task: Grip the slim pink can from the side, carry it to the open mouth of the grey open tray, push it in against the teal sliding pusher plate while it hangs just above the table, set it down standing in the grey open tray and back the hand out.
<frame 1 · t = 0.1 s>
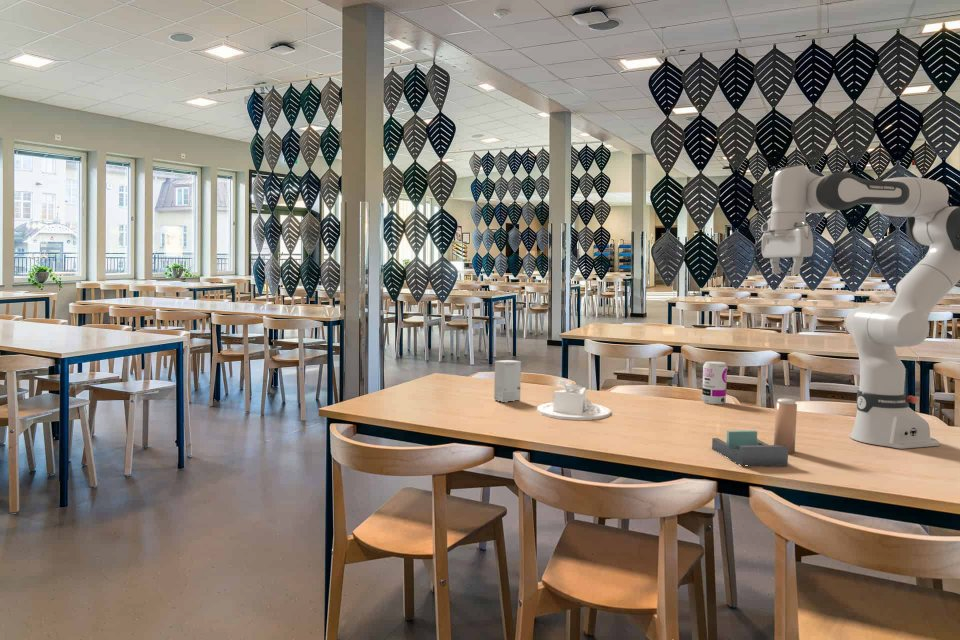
hand: (785, 273, 184), 48 cm above the table, tool pointing down, fingers open, 8 cm apart
grey open tray: (746, 456, 173), on the table
dish: (573, 413, 225), on the table
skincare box: (507, 401, 243), on the table
pusher: (743, 443, 174), point 3 cm above the table, slide at 0.0 cm
slim pink can: (784, 450, 179), on the table
supplement can: (713, 403, 243), on the table
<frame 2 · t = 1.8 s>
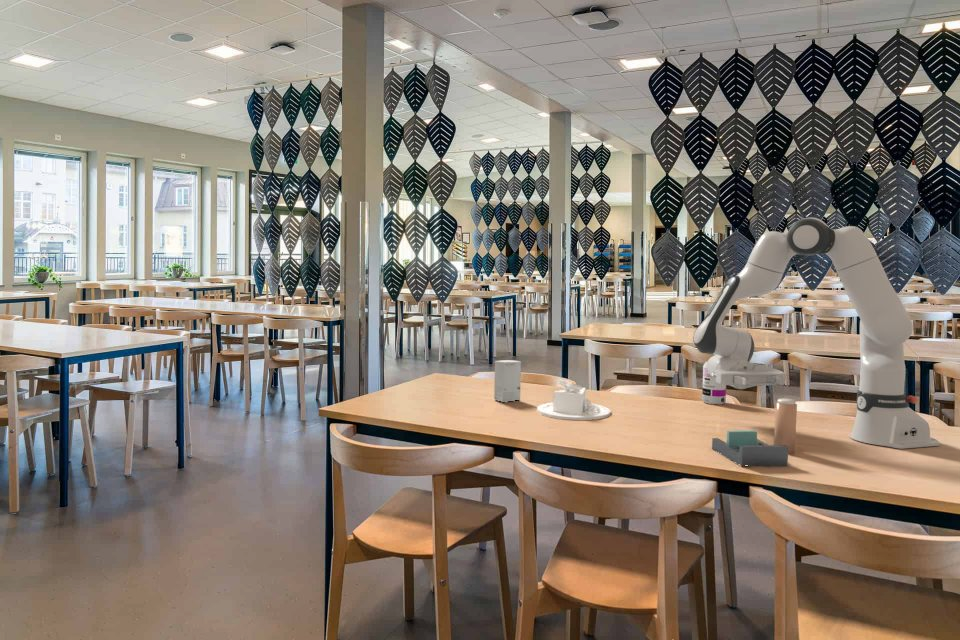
hand: (763, 382, 189), 17 cm above the table, tool horizontal, fingers open, 8 cm apart
nothing on the table moved.
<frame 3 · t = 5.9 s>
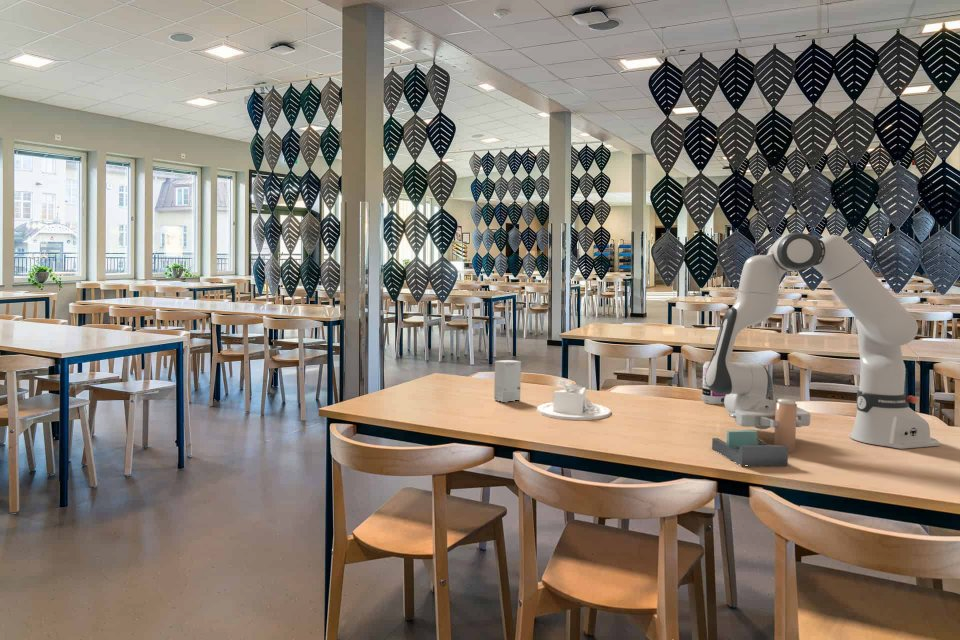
hand: (787, 424, 177), 8 cm above the table, tool horizontal, fingers closed on slim pink can, 5 cm apart
slim pink can: (784, 450, 179), on the table, touching gripper
everything else where it was.
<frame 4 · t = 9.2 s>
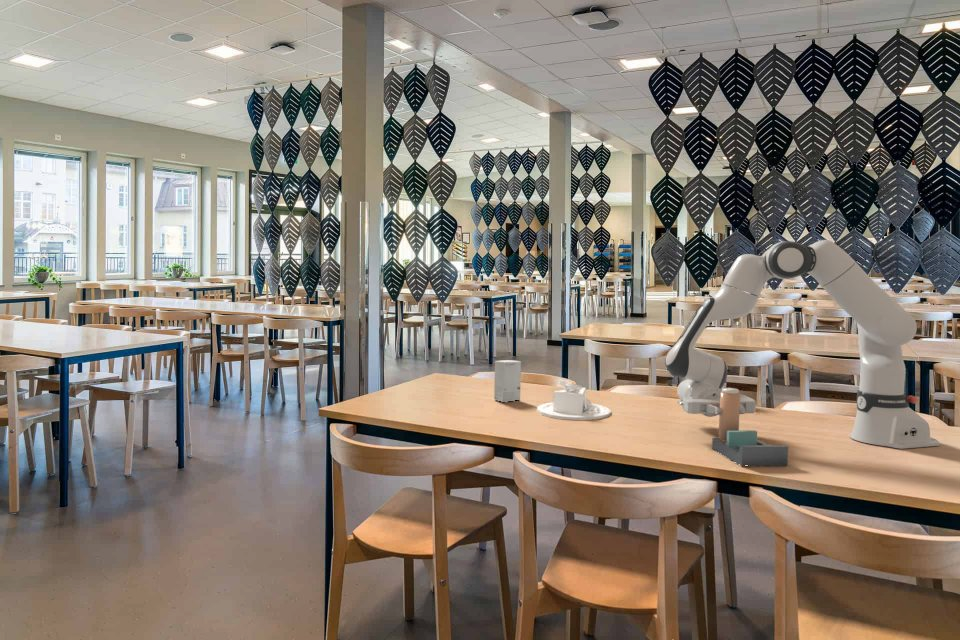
hand: (731, 411, 182), 10 cm above the table, tool horizontal, fingers closed on slim pink can, 5 cm apart
slim pink can: (728, 439, 183), point 2 cm above the table, touching gripper
everything else where it was.
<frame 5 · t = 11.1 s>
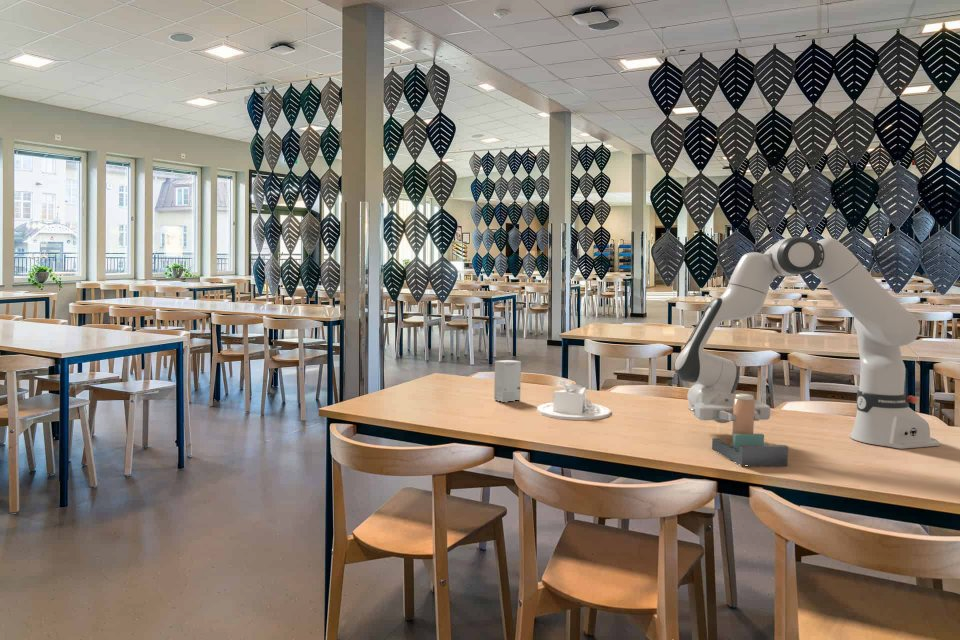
hand: (745, 417, 174), 10 cm above the table, tool horizontal, fingers closed on slim pink can, 5 cm apart
pusher: (750, 446, 171), point 3 cm above the table, slide at 3.5 cm, touching slim pink can
slim pink can: (742, 447, 176), point 2 cm above the table, touching gripper, pusher
everything else where it was.
when the fingers open (8 cm above the table, at t = 12.5 s): slim pink can stays where it is, on the table.
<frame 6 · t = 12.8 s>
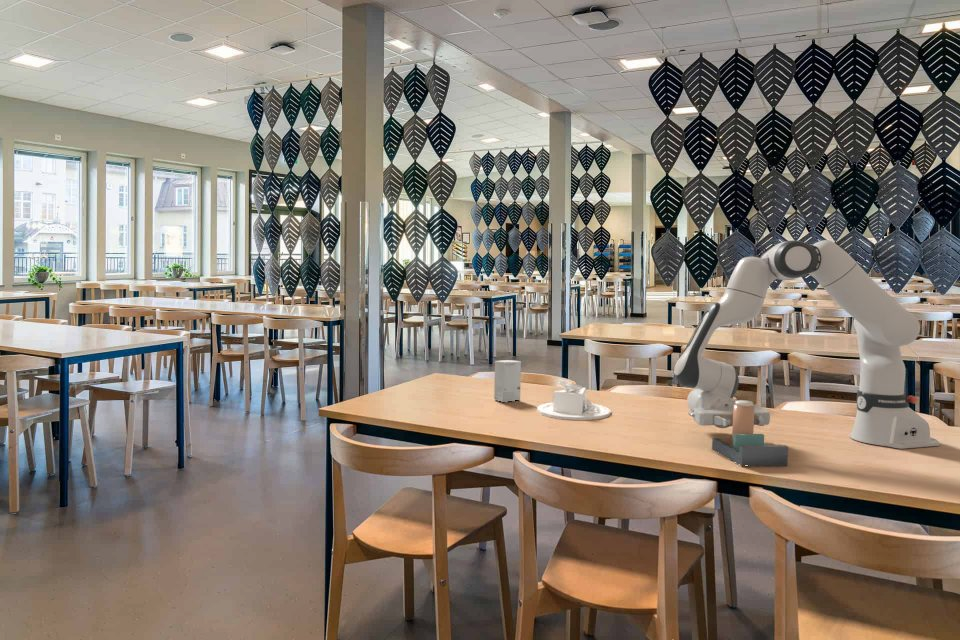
hand: (745, 423, 174), 8 cm above the table, tool horizontal, fingers open, 8 cm apart
pusher: (750, 446, 171), point 3 cm above the table, slide at 3.6 cm
slim pink can: (741, 453, 176), on the table
everything else where it was.
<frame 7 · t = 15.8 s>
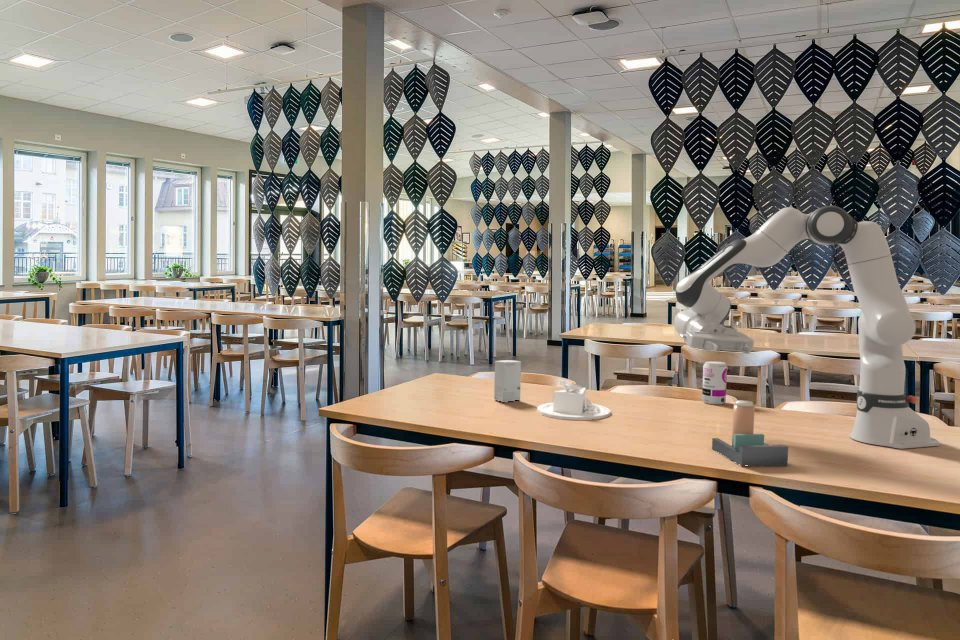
hand: (733, 350, 187), 26 cm above the table, tool horizontal, fingers open, 8 cm apart
nothing on the table moved.
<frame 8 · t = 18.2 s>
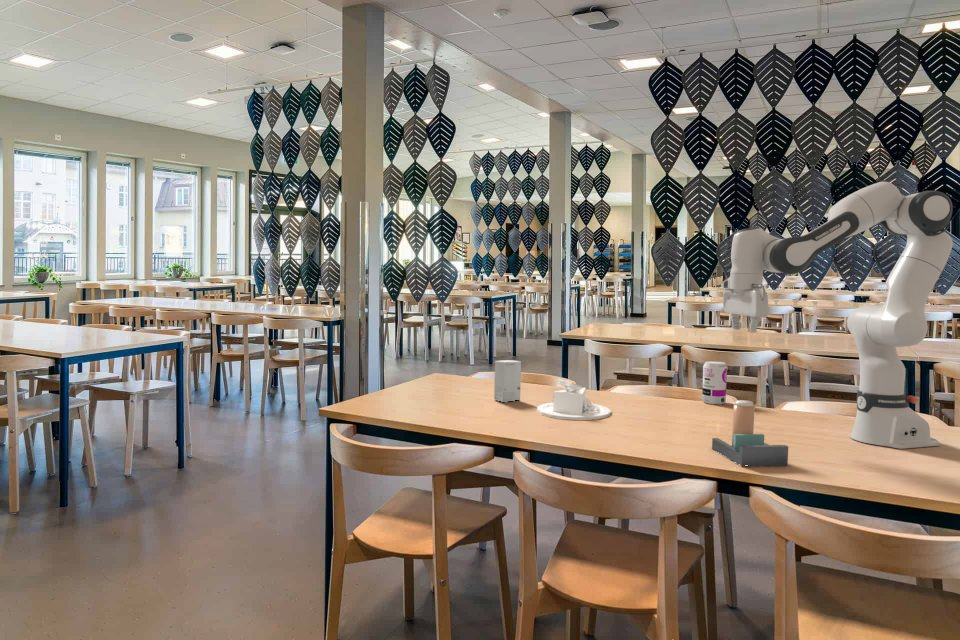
hand: (744, 330, 193), 31 cm above the table, tool pointing down, fingers open, 8 cm apart
nothing on the table moved.
at the end: slim pink can inside the target area (0.4 cm from its centre), on the table; slim pink can tilted 0°; pusher slide at 3.6 cm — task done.
